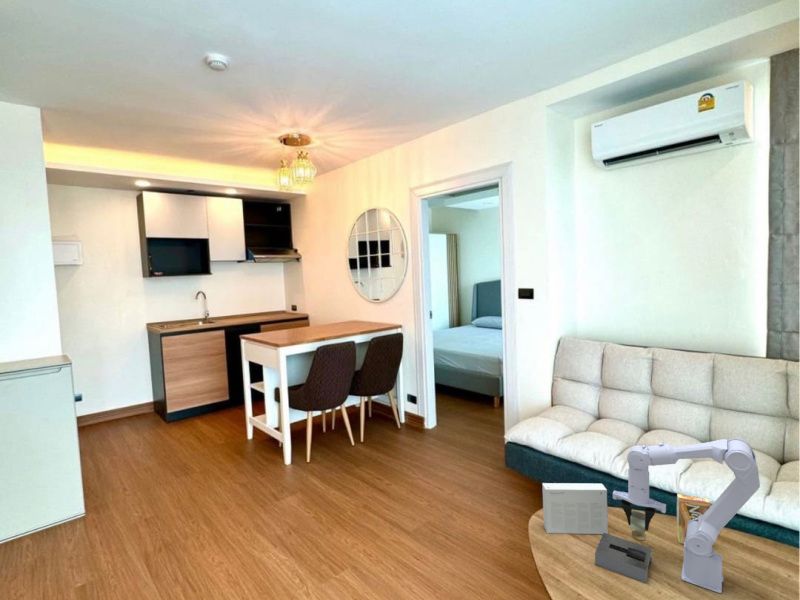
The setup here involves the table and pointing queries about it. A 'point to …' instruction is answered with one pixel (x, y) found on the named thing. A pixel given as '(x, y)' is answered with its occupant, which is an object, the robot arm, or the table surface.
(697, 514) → the candy box
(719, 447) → the robot arm
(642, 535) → the peg
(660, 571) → the table surface
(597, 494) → the skincare box
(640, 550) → the keyhole bracket
